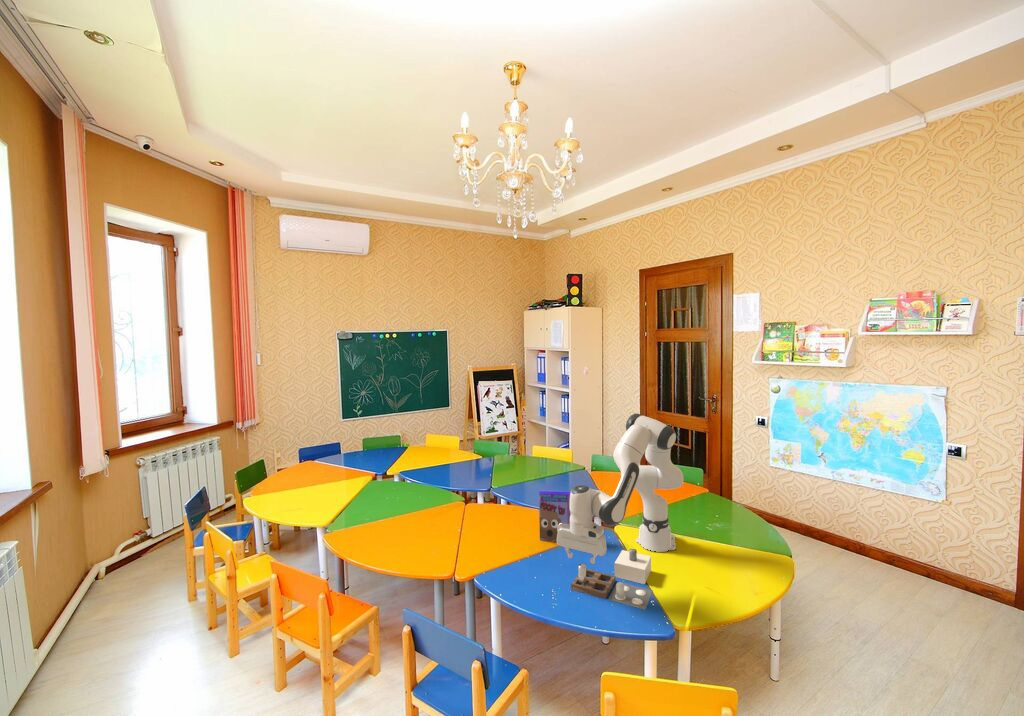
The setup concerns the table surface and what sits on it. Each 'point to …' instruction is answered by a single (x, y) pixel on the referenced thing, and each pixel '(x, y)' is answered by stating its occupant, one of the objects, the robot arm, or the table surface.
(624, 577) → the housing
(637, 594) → the board
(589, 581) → the socket board
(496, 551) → the table surface
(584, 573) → the steel pin
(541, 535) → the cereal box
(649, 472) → the robot arm
